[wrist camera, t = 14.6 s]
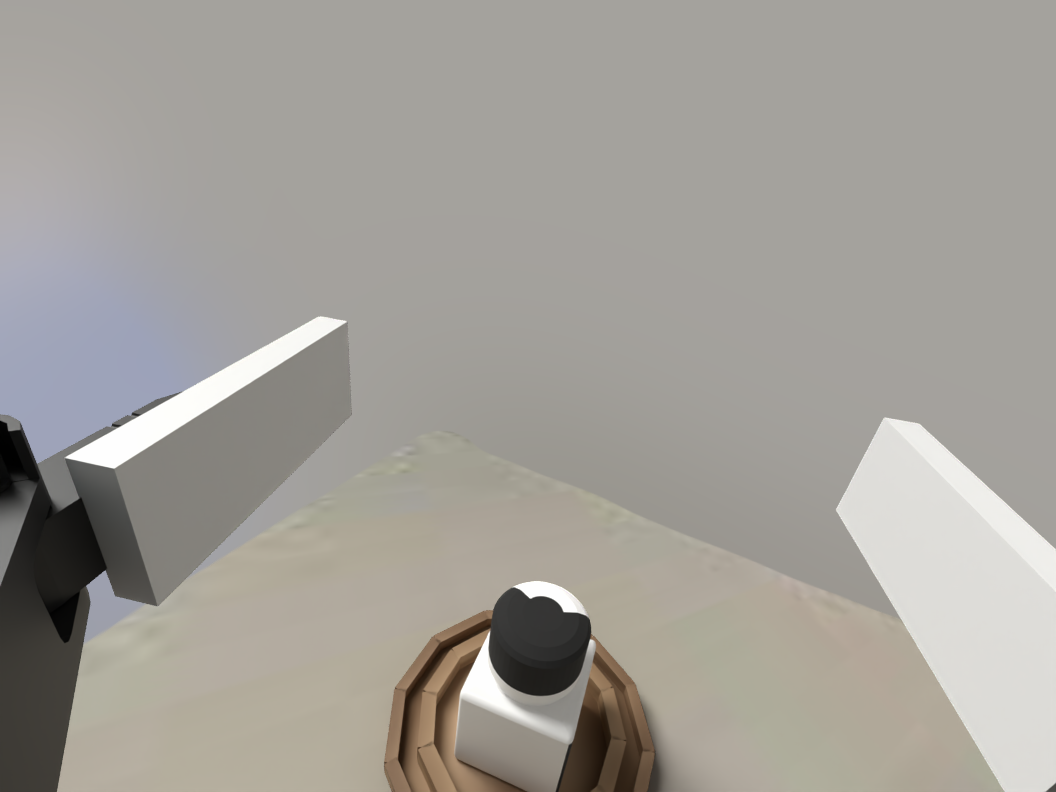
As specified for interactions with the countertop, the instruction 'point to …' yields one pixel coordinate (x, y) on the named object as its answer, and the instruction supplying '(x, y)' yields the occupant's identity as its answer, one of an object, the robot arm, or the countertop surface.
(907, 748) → the countertop surface
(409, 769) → the walnut tray
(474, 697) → the medicine bottle
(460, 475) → the countertop surface
